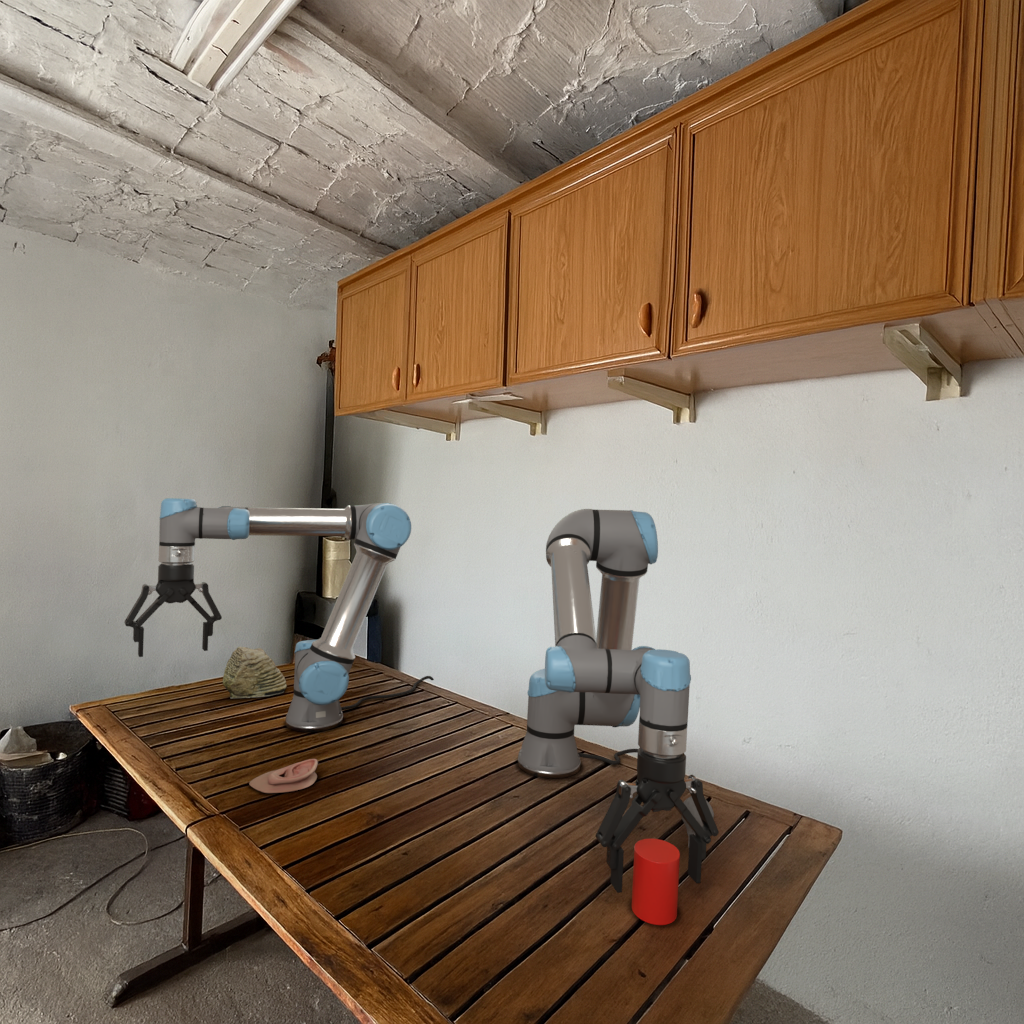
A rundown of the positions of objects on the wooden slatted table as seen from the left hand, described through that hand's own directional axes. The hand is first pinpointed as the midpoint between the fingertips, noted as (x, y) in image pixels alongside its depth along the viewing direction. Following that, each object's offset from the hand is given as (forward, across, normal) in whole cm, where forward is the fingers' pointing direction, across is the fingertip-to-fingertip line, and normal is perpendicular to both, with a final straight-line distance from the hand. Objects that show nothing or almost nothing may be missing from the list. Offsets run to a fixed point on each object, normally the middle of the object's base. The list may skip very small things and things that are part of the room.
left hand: (173, 652), depth 150 cm
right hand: (+20, +56, -101) cm, 117 cm away
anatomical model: (+25, +19, -27) cm, 41 cm away
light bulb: (+25, +76, -93) cm, 123 cm away
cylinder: (+25, +56, -101) cm, 118 cm away
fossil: (+25, +28, +38) cm, 53 cm away
